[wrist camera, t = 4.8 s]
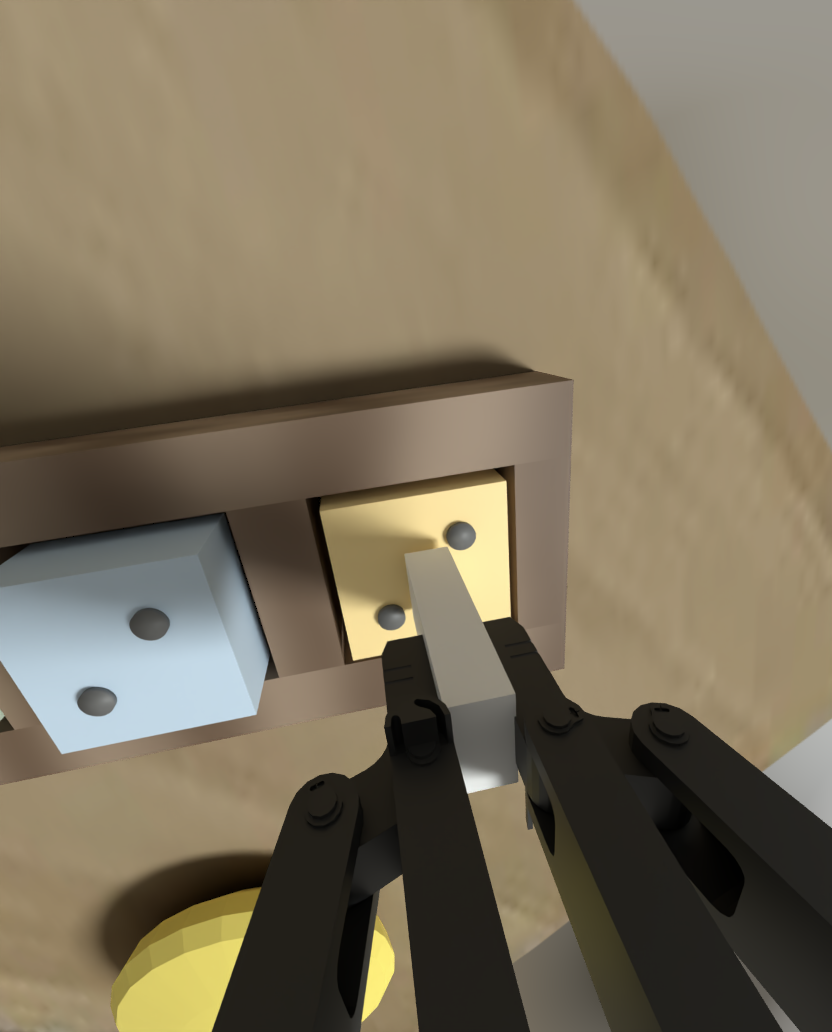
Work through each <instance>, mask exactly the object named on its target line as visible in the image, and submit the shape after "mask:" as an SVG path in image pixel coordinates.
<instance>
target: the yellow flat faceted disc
mask: <svg viewBox="0 0 832 1032" xmlns="http://www.w3.org/2000/svg"><path fill="white" fill-rule="evenodd" d="M260 890H261V887H257V888H251V889H244V890H241V891H237V892H234V893H231V894H228V895H225V896H222V897H219V898H215V899H212V900H209V901H206V902H203V903H200V904H196V905H193V906H191V907H189V908H187V909H185V910H184V911H182V912H180V913H178V914H176V915H174V916H172V917H170V918H168V919H166V920H164V921H162V922H161V923H160V924H159V925H158V926H157V927H155V928H154V929H153V930H152V931H151V932H149V933H148V934H147V935H146V936H145V937H143V938H142V939H141V940H140V942H139V943H138V945H137V947H136V948H135V950H134V951H133V953H132V955H131V956H130V958H129V960H128V961H127V963H126V964H125V966H124V968H123V969H122V971H121V973H120V974H119V976H118V977H117V979H116V981H115V982H114V984H113V986H112V992H111V1010H112V1013H113V1016H114V1020H115V1023H116V1026H117V1028H118V1029H119V1031H120V1032H212V1029H213V1026H214V1023H215V1020H216V1017H217V1014H218V1012H219V1009H220V1006H221V1003H222V1000H223V997H224V994H225V991H226V988H227V985H228V983H229V980H230V977H231V974H232V971H233V968H234V965H235V962H236V959H237V956H238V954H239V951H240V948H241V945H242V942H243V939H244V936H245V933H246V930H247V928H248V925H249V922H250V919H251V916H252V913H253V910H254V907H255V904H256V901H257V899H258V896H259V893H260ZM393 973H394V951H393V949H392V946H391V943H390V940H389V937H388V934H387V932H386V930H385V928H384V926H383V924H382V922H381V921H380V919H379V917H378V916H377V915H376V921H375V928H374V935H373V942H372V950H371V957H370V964H369V971H368V978H367V986H366V993H365V1000H364V1007H363V1014H362V1022H363V1021H364V1020H365V1019H366V1018H367V1017H368V1016H369V1014H370V1013H371V1012H372V1011H373V1010H374V1009H375V1008H376V1007H377V1006H378V1004H379V1002H380V1000H381V998H382V996H383V994H384V992H385V990H386V988H387V985H388V983H389V981H390V979H391V977H392V975H393Z"/></svg>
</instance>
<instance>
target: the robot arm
mask: <svg viewBox="0 0 832 1032" xmlns="http://www.w3.org/2000/svg"><path fill="white" fill-rule="evenodd" d="M404 556H405V563H406V570H407V577H408V583H409V590H410V597H411V604H412V611H413V618H414V623H415V627H416V632H417V636H412V637H407V638H402V639H397V640H391V641H387V643H386V645H385V648H384V650H383V652H382V655H381V658H382V667H383V677H384V685H385V696H386V705H387V715H386V718H385V726H384V729H385V734H386V739H387V743H388V744H387V748H386V750H385V751H384V753H383V755H382V756H381V757H380V758H379V760H378V761H377V762H376V763H375V764H373V765H372V766H371V767H369V768H368V769H366V770H365V771H363V772H361V773H359V774H358V775H356V776H354V777H352V778H350V779H349V778H347V777H346V776H345V775H341V774H336V773H329V774H323V775H319V776H317V777H316V778H314V779H312V780H310V781H308V782H307V783H306V784H305V785H304V786H303V787H302V788H301V789H300V790H299V791H298V792H297V793H296V795H295V797H294V799H293V800H292V802H291V804H290V806H289V809H288V812H287V815H286V818H285V820H284V823H283V826H282V829H281V832H280V835H279V838H278V841H277V844H276V846H275V849H274V852H273V855H272V858H271V861H270V864H269V867H268V870H267V873H266V875H265V878H264V881H263V884H262V887H261V890H260V893H259V896H258V899H257V901H256V904H255V907H254V910H253V913H252V916H251V919H250V922H249V925H248V928H247V930H246V933H245V936H244V939H243V942H242V945H241V948H240V951H239V954H238V956H237V959H236V962H235V965H234V968H233V971H232V974H231V977H230V980H229V983H228V985H227V988H226V991H225V994H224V997H223V1000H222V1003H221V1006H220V1009H219V1012H218V1014H217V1017H216V1020H215V1023H214V1026H213V1029H212V1032H360V1029H361V1022H362V1014H363V1007H364V1000H365V993H366V986H367V978H368V971H369V964H370V957H371V950H372V942H373V935H374V928H375V921H376V913H377V906H378V899H379V892H380V889H381V888H383V887H384V886H386V885H387V884H388V883H390V882H391V881H393V880H394V879H396V878H397V877H399V876H400V875H402V874H403V883H404V893H405V902H406V912H407V921H408V931H409V940H410V950H411V959H412V969H413V978H414V988H415V997H416V1007H417V1016H418V1026H419V1032H530V1030H529V1026H528V1022H527V1019H526V1015H525V1011H524V1007H523V1003H522V999H521V996H520V993H519V988H518V985H517V981H516V977H515V973H514V969H513V965H512V961H511V958H510V954H509V950H508V946H507V942H506V939H505V935H504V931H503V927H502V923H501V919H500V916H499V912H498V908H497V904H496V900H495V897H494V893H493V889H492V885H491V881H490V878H489V874H488V870H487V866H486V862H485V859H484V855H483V851H482V847H481V843H480V839H479V836H478V832H477V828H476V824H475V820H474V817H473V813H472V809H471V805H470V801H469V798H468V794H467V793H472V792H476V791H481V790H485V789H489V788H494V787H498V786H503V785H507V784H512V783H516V782H518V770H519V772H520V775H521V777H522V780H523V782H524V785H525V796H526V822H527V828H528V830H529V829H533V824H534V827H535V829H536V832H537V835H538V837H539V840H540V843H541V845H542V848H543V851H544V853H545V856H546V859H547V861H548V864H549V867H550V869H551V872H552V875H553V877H554V880H555V883H556V885H557V888H558V891H559V893H560V896H561V899H562V901H563V904H564V907H565V909H566V912H567V915H568V917H569V920H570V923H571V925H572V928H573V931H574V933H575V936H576V939H577V941H578V944H579V947H580V949H581V952H582V955H583V957H584V960H585V963H586V965H587V968H588V971H589V973H590V976H591V979H592V981H593V984H594V987H595V989H596V992H597V995H598V997H599V1000H600V1003H601V1005H602V1008H603V1011H604V1013H605V1016H606V1019H607V1021H608V1024H609V1027H610V1029H611V1032H783V1031H782V1029H781V1028H780V1026H779V1024H778V1023H777V1021H776V1020H775V1018H774V1016H773V1015H772V1013H771V1012H770V1010H769V1008H768V1007H767V1005H766V1003H765V1002H764V1000H763V999H762V997H761V996H760V994H759V992H758V990H757V989H756V987H755V986H754V984H753V982H752V981H751V979H750V977H749V976H748V974H747V973H746V971H745V969H744V968H743V966H742V965H741V963H740V961H739V960H738V958H737V957H736V955H737V956H738V957H739V958H740V959H741V961H742V962H743V963H744V964H745V965H746V967H747V968H748V969H749V970H750V971H751V973H752V974H753V975H754V976H755V977H756V979H757V980H758V981H759V982H760V983H761V985H762V986H763V987H764V988H765V989H766V991H767V992H768V993H769V994H770V995H771V997H772V998H773V999H774V1000H775V1001H776V1003H777V1004H778V1005H779V1006H780V1008H781V1009H782V1010H783V1011H784V1012H785V1014H786V1015H787V1016H788V1017H789V1018H790V1020H791V1021H792V1022H793V1023H794V1024H795V1026H796V1027H797V1028H798V1029H799V1030H800V1032H832V828H831V827H830V826H828V825H827V824H826V823H825V822H823V821H822V820H821V819H820V818H818V817H817V816H816V815H815V814H813V813H812V812H811V811H810V810H808V809H807V808H806V807H804V806H803V805H802V804H801V803H800V802H799V801H797V800H796V799H795V798H793V797H792V796H791V795H790V794H788V793H787V792H786V791H785V790H784V789H782V788H781V787H780V786H779V785H777V784H776V783H775V782H774V781H772V780H771V779H770V778H768V777H767V776H766V775H765V774H764V773H762V772H761V771H760V770H759V769H757V768H756V767H755V766H754V765H752V764H751V763H750V762H749V761H748V760H746V759H745V758H744V757H743V756H741V755H740V754H739V753H738V752H736V751H735V750H734V749H733V748H731V747H730V746H729V745H728V744H726V743H725V742H724V741H723V740H721V739H720V738H719V737H718V736H716V735H715V734H714V733H713V732H711V731H710V730H709V729H708V728H706V727H705V726H704V725H703V724H701V723H700V722H699V721H698V720H697V719H695V718H694V717H693V716H691V715H690V714H688V713H686V712H685V711H683V710H682V709H680V708H677V707H674V706H671V705H668V704H665V703H648V704H644V705H641V706H639V707H638V708H637V709H636V710H635V711H634V712H633V715H632V718H631V719H622V718H610V717H601V716H595V715H592V714H589V713H586V712H584V711H583V710H582V708H581V707H580V706H579V705H577V704H576V703H574V702H572V701H571V700H569V699H567V698H566V697H565V696H564V694H563V693H562V691H561V690H560V688H559V686H558V685H557V683H556V681H555V679H554V678H553V676H552V674H551V673H550V671H549V669H548V668H547V666H546V664H545V663H544V661H543V659H542V657H541V656H540V654H538V651H537V649H536V647H535V646H534V644H533V643H532V642H531V639H530V637H529V635H528V634H527V632H526V630H525V629H524V627H523V626H522V625H520V624H519V623H517V622H516V621H515V620H513V619H512V618H511V617H506V618H501V619H495V620H490V621H485V622H482V620H481V618H480V616H479V613H478V611H477V609H476V607H475V605H474V603H473V600H472V598H471V596H470V594H469V592H468V590H467V587H466V585H465V583H464V581H463V579H462V577H461V574H460V572H459V570H458V568H457V566H456V564H455V562H454V559H453V557H452V555H451V553H450V551H449V549H448V546H447V547H441V548H435V549H429V550H424V551H418V552H412V553H406V554H404ZM733 951H734V952H735V953H736V955H735V953H734V952H733Z"/></svg>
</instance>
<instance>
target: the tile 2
mask: <svg viewBox="0 0 832 1032" xmlns="http://www.w3.org/2000/svg"><path fill="white" fill-rule="evenodd" d="M269 657H270V652H269V649H268V646H267V643H266V640H265V637H264V634H263V631H262V627H261V624H260V621H259V618H258V615H257V612H256V609H255V606H254V603H253V600H252V597H251V594H250V590H249V587H248V584H247V581H246V578H245V575H244V572H243V569H242V566H241V563H240V560H239V557H238V553H237V550H236V547H235V544H234V541H233V538H232V535H231V532H230V529H229V526H228V523H227V520H226V517H225V513H220V514H213V515H207V516H201V517H195V518H189V519H182V520H176V521H170V522H164V523H157V524H151V525H145V526H139V527H133V528H126V529H120V530H114V531H108V532H102V533H95V534H89V535H83V536H77V537H71V538H64V539H58V540H52V541H46V542H40V543H33V544H30V545H29V546H27V547H26V548H24V549H23V550H21V551H20V552H18V553H17V554H16V555H14V556H13V557H11V558H10V559H8V560H7V561H5V562H4V563H3V564H1V565H0V661H1V662H2V664H3V665H4V667H5V668H6V670H7V671H8V673H9V674H10V676H11V677H12V679H13V681H14V682H15V684H16V685H17V687H18V688H19V690H20V691H21V693H22V694H23V696H24V697H25V699H26V700H27V702H28V703H29V705H30V706H31V708H32V709H33V711H34V713H35V714H36V716H37V717H38V719H39V720H40V722H41V723H42V725H43V726H44V728H45V729H46V731H47V732H48V734H49V735H50V737H51V738H52V740H53V741H54V743H55V745H56V746H57V748H58V749H59V751H60V752H61V754H65V753H70V752H75V751H80V750H85V749H90V748H95V747H100V746H105V745H110V744H114V743H119V742H124V741H129V740H134V739H139V738H144V737H149V736H154V735H159V734H164V733H169V732H174V731H179V730H183V729H188V728H193V727H198V726H203V725H208V724H213V723H218V722H223V721H228V720H233V719H238V718H243V717H248V716H252V715H256V714H257V710H258V706H259V701H260V697H261V692H262V688H263V683H264V679H265V675H266V670H267V666H268V661H269Z"/></svg>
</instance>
